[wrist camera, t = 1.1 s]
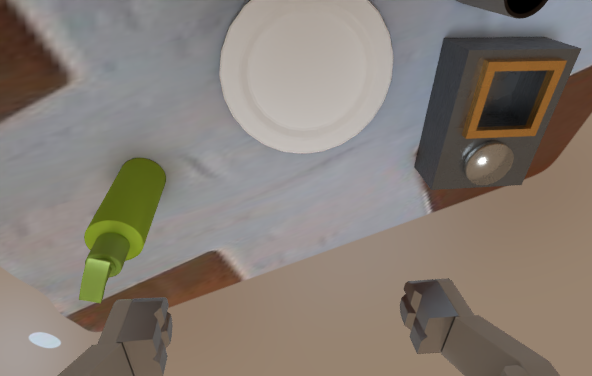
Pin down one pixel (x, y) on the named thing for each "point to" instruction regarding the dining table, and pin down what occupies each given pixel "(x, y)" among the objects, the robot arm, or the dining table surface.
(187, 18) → the dining table surface
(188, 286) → the dining table surface
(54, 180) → the dining table surface
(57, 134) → the dining table surface
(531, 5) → the grey cylinder
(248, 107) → the plate
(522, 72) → the grey box with knob
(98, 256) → the soap dispenser
